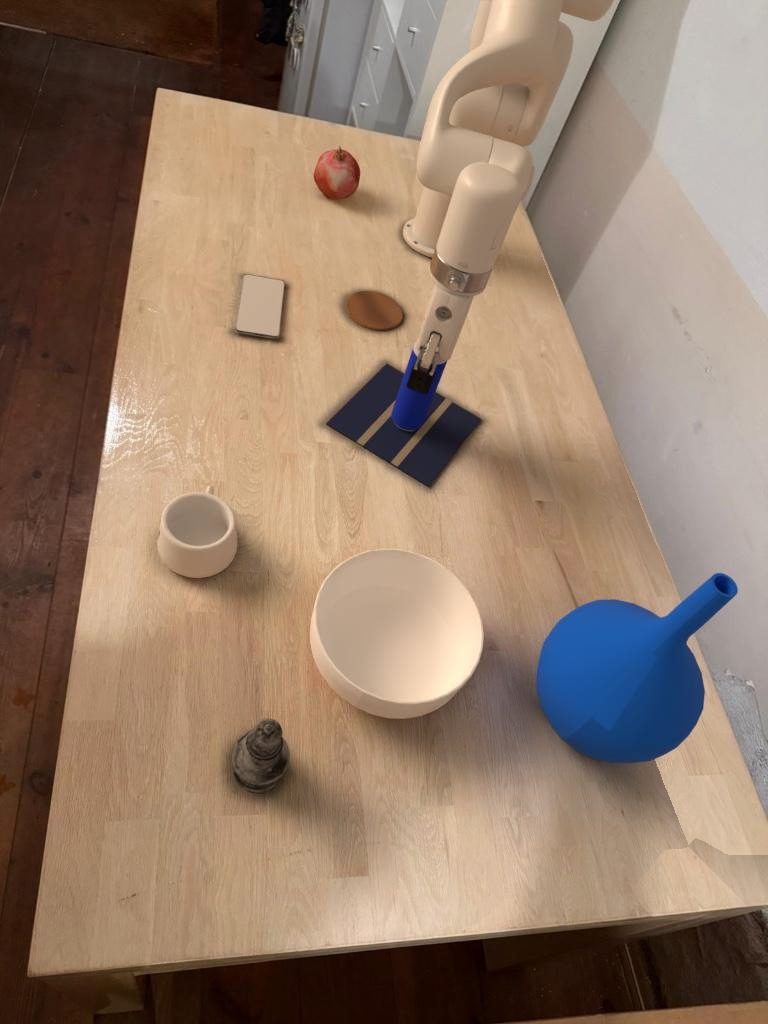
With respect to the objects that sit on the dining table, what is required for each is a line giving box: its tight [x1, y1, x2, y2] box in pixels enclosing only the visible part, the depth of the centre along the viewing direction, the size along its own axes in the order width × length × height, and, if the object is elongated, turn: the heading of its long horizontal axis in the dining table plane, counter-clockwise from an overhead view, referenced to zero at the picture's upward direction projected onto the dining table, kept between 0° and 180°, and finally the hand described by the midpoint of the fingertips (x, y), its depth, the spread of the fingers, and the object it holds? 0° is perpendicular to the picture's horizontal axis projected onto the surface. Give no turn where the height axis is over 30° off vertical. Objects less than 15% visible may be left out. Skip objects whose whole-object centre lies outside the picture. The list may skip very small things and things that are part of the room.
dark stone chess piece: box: [231, 717, 291, 794], centre depth 74 cm, size 6×6×12 cm
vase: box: [536, 572, 739, 764], centre depth 80 cm, size 18×18×30 cm
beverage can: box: [391, 339, 448, 431], centre depth 108 cm, size 5×5×15 cm
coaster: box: [345, 290, 403, 331], centre depth 129 cm, size 10×10×1 cm
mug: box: [156, 485, 239, 579], centre depth 91 cm, size 12×10×6 cm
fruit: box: [313, 145, 361, 200], centre depth 145 cm, size 9×10×10 cm
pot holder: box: [325, 363, 482, 488], centre depth 114 cm, size 18×18×1 cm
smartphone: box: [234, 273, 286, 340], centre depth 122 cm, size 7×1×15 cm
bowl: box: [309, 547, 485, 720], centre depth 87 cm, size 20×20×8 cm
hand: (424, 371), depth 106 cm, fingers open, 7 cm apart
